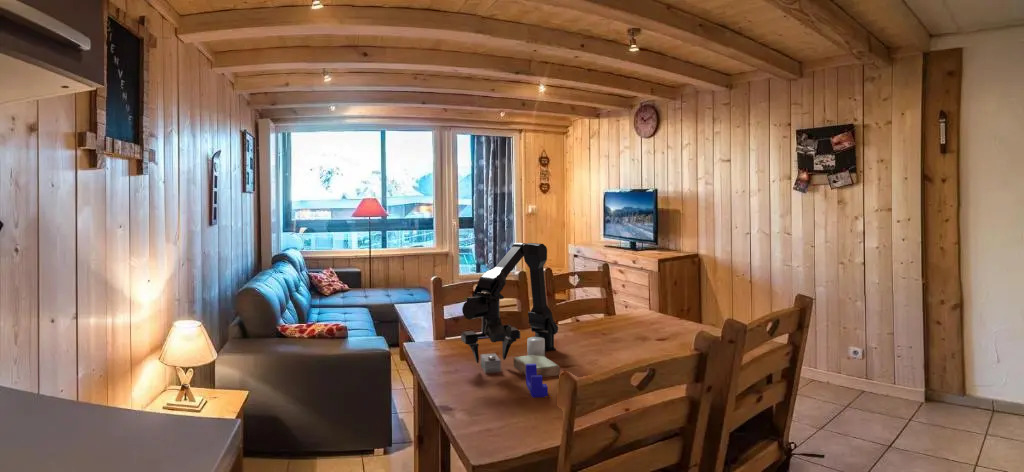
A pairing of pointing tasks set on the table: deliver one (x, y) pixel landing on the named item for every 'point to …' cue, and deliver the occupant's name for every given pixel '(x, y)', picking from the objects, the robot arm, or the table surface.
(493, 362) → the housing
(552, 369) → the stand
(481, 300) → the robot arm
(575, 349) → the table surface
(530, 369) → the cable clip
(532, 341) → the light grey rounded cylinder
